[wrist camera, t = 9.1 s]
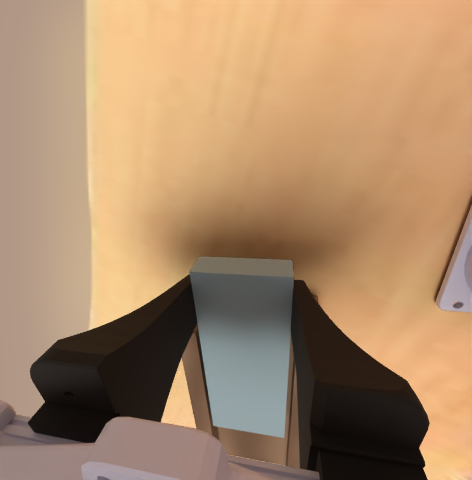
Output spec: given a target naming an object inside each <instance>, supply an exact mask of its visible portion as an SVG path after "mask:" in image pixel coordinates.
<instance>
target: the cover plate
mask: <svg viewBox="0 0 472 480" xmlns="http://www.w3.org/2000/svg"><path fill="white" fill-rule="evenodd" d="M190 279H191V284H192V290H193V297H194V303H195V310H196V316H197V322H198V323H197V324H198V330H199V337H200V343H201V350H202V356H203V362H204V369H205V375H206V382H207V388H208V395H209V401H210V407H211V414H212V420H213V426H217V427H223V428H229V429H234V430H240V431H246V432H252V433H258V434H264V435H270V436H276V437H281V438H284V434H285V417H286V401H287V385H288V369H289V352H290V336H291V314H292V297H293V287H294V270H293V260H283V259H257V258H231V257H206V256H199V258H198V259H197V261H196V262H195V264H194V265H193V267H192V269H191V270H190Z"/></svg>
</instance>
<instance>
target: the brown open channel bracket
mask: <svg viewBox="0 0 472 480" xmlns="http://www.w3.org/2000/svg"><path fill="white" fill-rule="evenodd" d="M313 297H314V298H315V300H316V301H317V302H318V299H317V297H315V296H313ZM318 304H319V303H318ZM182 361H183V366H184V370H185V375H186V380H187V385H188V390H189V394H190V399H191V404H192V409H193V414H194V418H195V423H196V428H197V429H198V430H201V431H204V432H207V433H209V434H211V435H212V436H214V437H215V438H216V439H218V440H219V441H220V442H221V444H222V446H223V447H224V449H225V451H226V453H227V454H228V455H233V456H238V457H244V458H249V459H254V460H259V461H265V462H270V463H275V464H280V465H286V466H289V467H294V468H299V469H300V458H299V427H298V401H297V378H296V367H295V360H294V353H293V346H292V338H291V336H290V352H289V369H288V385H287V401H286V417H285V434H284V438H281V437H276V436H270V435H264V434H258V433H252V432H246V431H240V430H234V429H229V428H223V427H217V426H213V420H212V414H211V407H210V401H209V395H208V388H207V382H206V375H205V369H204V362H203V356H202V350H201V343H200V337H199V330H198V324H197V325H196V327H195V329H194V331H193V334H192V336H191V338H190V340H189V342H188V344H187V347H186V349H185V351H184V353H183V355H182Z"/></svg>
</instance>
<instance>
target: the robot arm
mask: <svg viewBox="0 0 472 480" xmlns="http://www.w3.org/2000/svg"><path fill="white" fill-rule="evenodd" d="M456 302H458V303H456ZM454 303H456V304H454ZM436 304H437V306H438V307H439V308H440V309H442V310H445V311H459V312H472V206H471V208H470V211H469V214H468V216H467V219H466V222H465V224H464V227H463V230H462V232H461V235H460V238H459V240H458V243H457V246H456V248H455V251H454V254H453V256H452V259H451V262H450V264H449V267H448V270H447V272H446V275H445V278H444V280H443V283H442V286H441V288H440V291H439V294H438V296H437V299H436ZM197 323H198V322H197V316H196V310H195V303H194V297H193V290H192V284H191V279H190V274H189V275H188V276H186V277H185V278H183V279H182V280H181V281H179V282H178V283H177V284H175V285H174V286H172V287H171V288H170V289H168V290H167V291H165V292H164V293H163V294H161V295H160V296H158V297H157V298H155V299H153V300H152V301H150V302H149V303H147V304H146V305H144V306H142V307H140V308H139V309H137V310H135V311H133V312H131V313H129V314H127V315H125V316H123V317H121V318H119V319H116V320H114V321H112V322H110V323H107V324H105V325H102V326H100V327H97V328H94V329H92V330H89V331H86V332H83V333H80V334H77V335H74V336H70V337H67V338H64V339H60V340H58V341H57V342H56V343H54V344H53V345H52V346H51V347H50V348H49V349H48V350H47V351H46V352H45V353H44V354H43V355H42V356H41V357H40V358H39V359H38V360H37V361H35V362H34V363H33V364H32V366H31V368H30V375H31V379H32V381H33V383H34V384H35V386H36V387H37V389H38V391H39V392H40V394H41V396H42V397H43V399H44V400H45V403H44V404H43V405H42V406H41V408H40V409H39V410H38V411H37V412H36V413H35V415H34V416H33V417H26V416H21V415H16V412H15V410H14V409H13V407H12V406H11V405H10V404H8V403H7V402H5V401H2V400H0V480H428V479H427V477H426V475H425V472H424V470H423V468H424V467H425V461H424V459H423V456H422V454H421V452H420V450H419V447H420V445H421V443H422V441H423V439H424V437H425V435H426V433H427V431H428V427H429V420H428V416H427V414H426V412H425V410H424V408H423V406H422V404H421V402H420V401H419V399H418V397H417V396H416V394H415V392H414V391H413V389H412V388H411V386H410V385H409V383H408V381H407V380H405V379H403V378H402V377H400V376H399V375H397V374H396V373H394V372H393V371H391V370H390V369H388V368H387V367H385V366H383V365H382V364H381V363H379V362H378V361H377V360H375V359H374V358H372V357H371V356H370V355H368V354H367V353H366V352H365V351H363V350H362V349H361V348H360V347H359V346H357V345H356V344H355V343H354V342H353V341H352V340H350V339H349V338H348V337H347V336H346V335H345V334H344V333H343V332H342V331H341V330H340V329H339V328H338V327H337V326H336V325H335V324H334V323H333V321H332V320H331V319H330V318H329V317H328V316H327V314H326V313H325V312H324V311H323V309H322V308H321V307H320V305H319V304H318V302H317V301H316V300H315V298H314V297H313V295H312V294H311V292H310V290H309V289H308V287H307V285H306V283H305V282H304V281H303V280H294V287H293V297H292V314H291V338H292V346H293V353H294V360H295V367H296V378H297V401H298V427H299V458H300V469H299V468H294V467H289V466H283V465H278V464H273V463H268V462H262V461H257V460H252V459H247V458H241V457H236V456H231V455H227V453H226V451H225V449H224V447H223V446H222V444H221V442H220V441H219V440H218V439H216V438H215V437H214V436H212V435H211V434H209V433H207V432H204V431H201V430H198V429H195V428H190V427H184V426H179V425H173V424H167V423H161V419H162V416H163V412H164V409H165V405H166V402H167V399H168V396H169V392H170V389H171V386H172V383H173V380H174V377H175V374H176V371H177V368H178V365H179V363H180V360H181V358H182V355H183V353H184V351H185V349H186V347H187V344H188V342H189V340H190V338H191V336H192V334H193V331H194V329H195V327H196V325H197Z"/></svg>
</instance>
